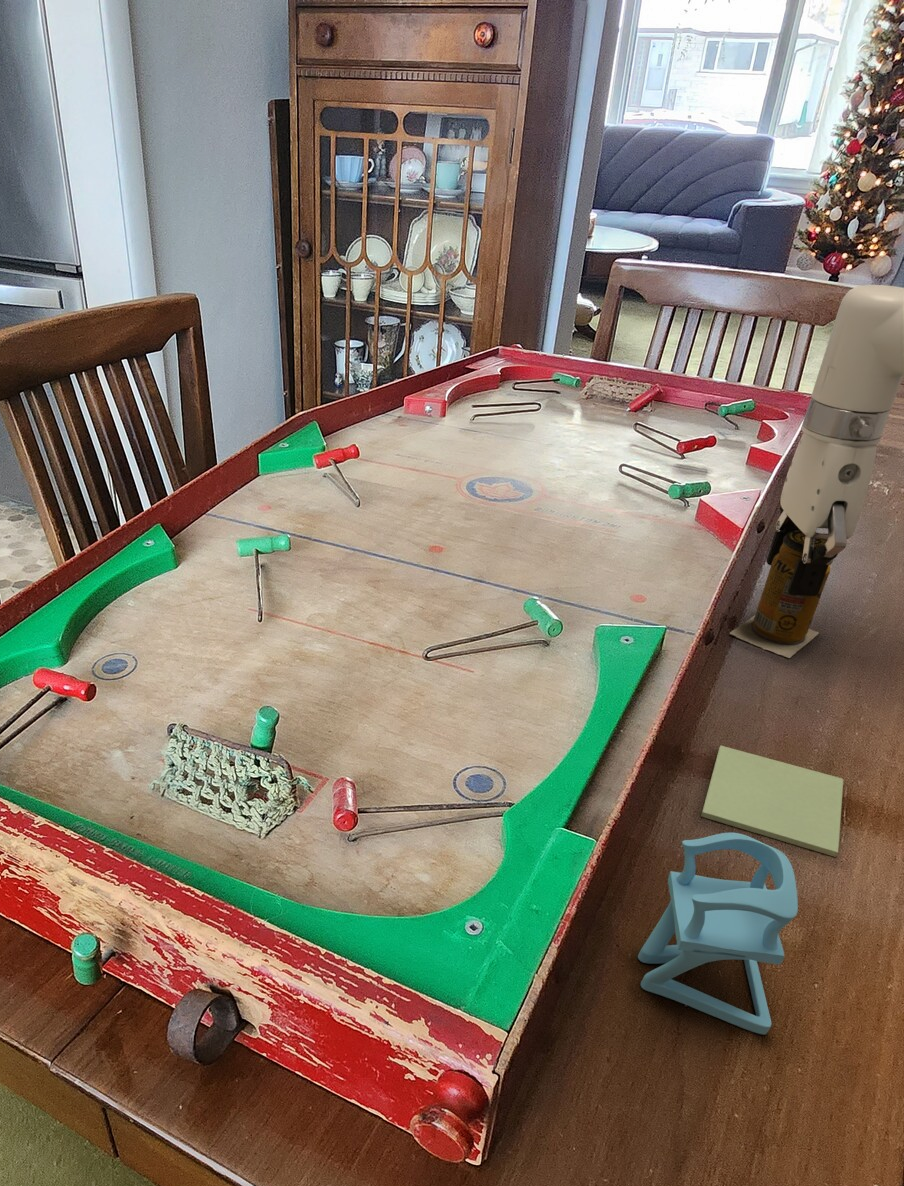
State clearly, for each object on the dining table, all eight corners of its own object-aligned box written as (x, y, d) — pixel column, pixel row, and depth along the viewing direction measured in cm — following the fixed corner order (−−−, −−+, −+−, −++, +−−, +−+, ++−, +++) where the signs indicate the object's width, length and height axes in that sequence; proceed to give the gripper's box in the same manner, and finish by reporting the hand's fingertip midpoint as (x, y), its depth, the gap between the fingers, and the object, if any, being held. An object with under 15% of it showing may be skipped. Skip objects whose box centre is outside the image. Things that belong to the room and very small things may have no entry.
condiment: (818, 634, 107) (853, 539, 100) (789, 659, 102) (823, 561, 95) (759, 612, 111) (789, 519, 104) (728, 635, 106) (756, 540, 99)
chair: (634, 931, 68) (670, 810, 61) (749, 948, 67) (798, 826, 60) (643, 1016, 62) (683, 892, 55) (769, 1036, 61) (827, 912, 54)
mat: (718, 749, 87) (720, 744, 87) (841, 783, 84) (843, 778, 83) (700, 816, 79) (702, 811, 79) (836, 857, 75) (838, 852, 75)
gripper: (920, 450, 85) (853, 618, 95) (848, 398, 99) (797, 548, 110) (839, 446, 85) (782, 614, 96) (779, 394, 99) (735, 545, 110)
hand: (790, 577), depth 102 cm, fingers open, 6 cm apart
